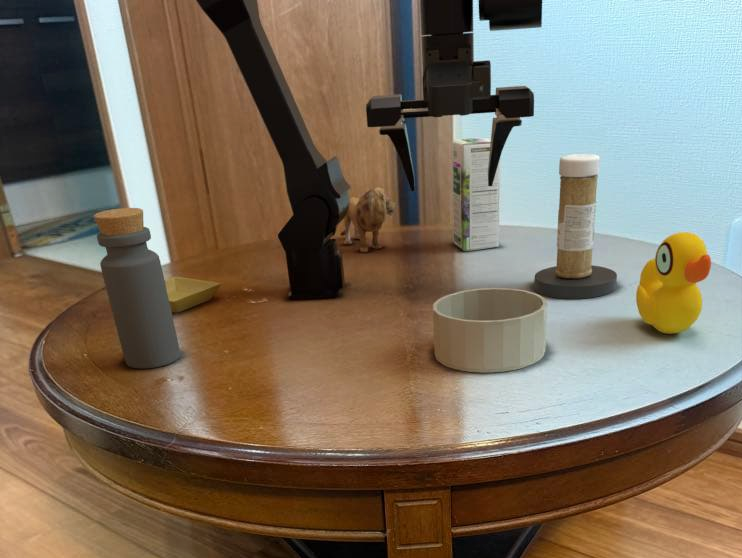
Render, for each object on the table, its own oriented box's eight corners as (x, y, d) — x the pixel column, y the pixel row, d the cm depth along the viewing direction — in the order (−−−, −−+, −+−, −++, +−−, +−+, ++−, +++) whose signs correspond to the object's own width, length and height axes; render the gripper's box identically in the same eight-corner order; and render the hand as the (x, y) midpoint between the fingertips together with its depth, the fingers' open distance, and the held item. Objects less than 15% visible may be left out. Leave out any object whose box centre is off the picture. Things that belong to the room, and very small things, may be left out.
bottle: (152, 372, 83) (115, 219, 75) (114, 364, 86) (74, 216, 78) (192, 354, 87) (161, 207, 79) (154, 347, 90) (121, 205, 82)
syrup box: (452, 244, 123) (449, 139, 115) (488, 239, 124) (488, 135, 116) (463, 252, 119) (461, 143, 111) (501, 247, 120) (501, 139, 112)
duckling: (721, 345, 80) (737, 240, 74) (670, 351, 79) (683, 246, 74) (667, 312, 89) (679, 218, 84) (622, 318, 88) (630, 223, 83)
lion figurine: (403, 250, 122) (399, 186, 117) (373, 256, 119) (368, 192, 115) (354, 235, 132) (349, 177, 128) (326, 241, 130) (319, 181, 125)
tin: (435, 375, 78) (433, 324, 75) (434, 337, 87) (432, 291, 84) (551, 369, 77) (553, 318, 74) (538, 332, 86) (539, 285, 84)
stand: (539, 300, 96) (539, 288, 95) (530, 278, 104) (530, 266, 103) (623, 296, 95) (624, 283, 95) (607, 274, 104) (608, 262, 103)
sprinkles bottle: (558, 269, 101) (563, 153, 94) (595, 270, 100) (603, 152, 93) (551, 279, 98) (556, 159, 91) (589, 280, 96) (597, 158, 89)
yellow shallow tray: (225, 298, 105) (222, 282, 104) (176, 317, 99) (173, 300, 98) (178, 291, 109) (175, 276, 108) (129, 309, 103) (125, 293, 102)
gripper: (356, 41, 81) (369, 205, 90) (542, 28, 80) (537, 195, 89) (364, 40, 91) (375, 188, 99) (530, 28, 90) (527, 179, 98)
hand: (451, 188), depth 96 cm, fingers open, 9 cm apart
